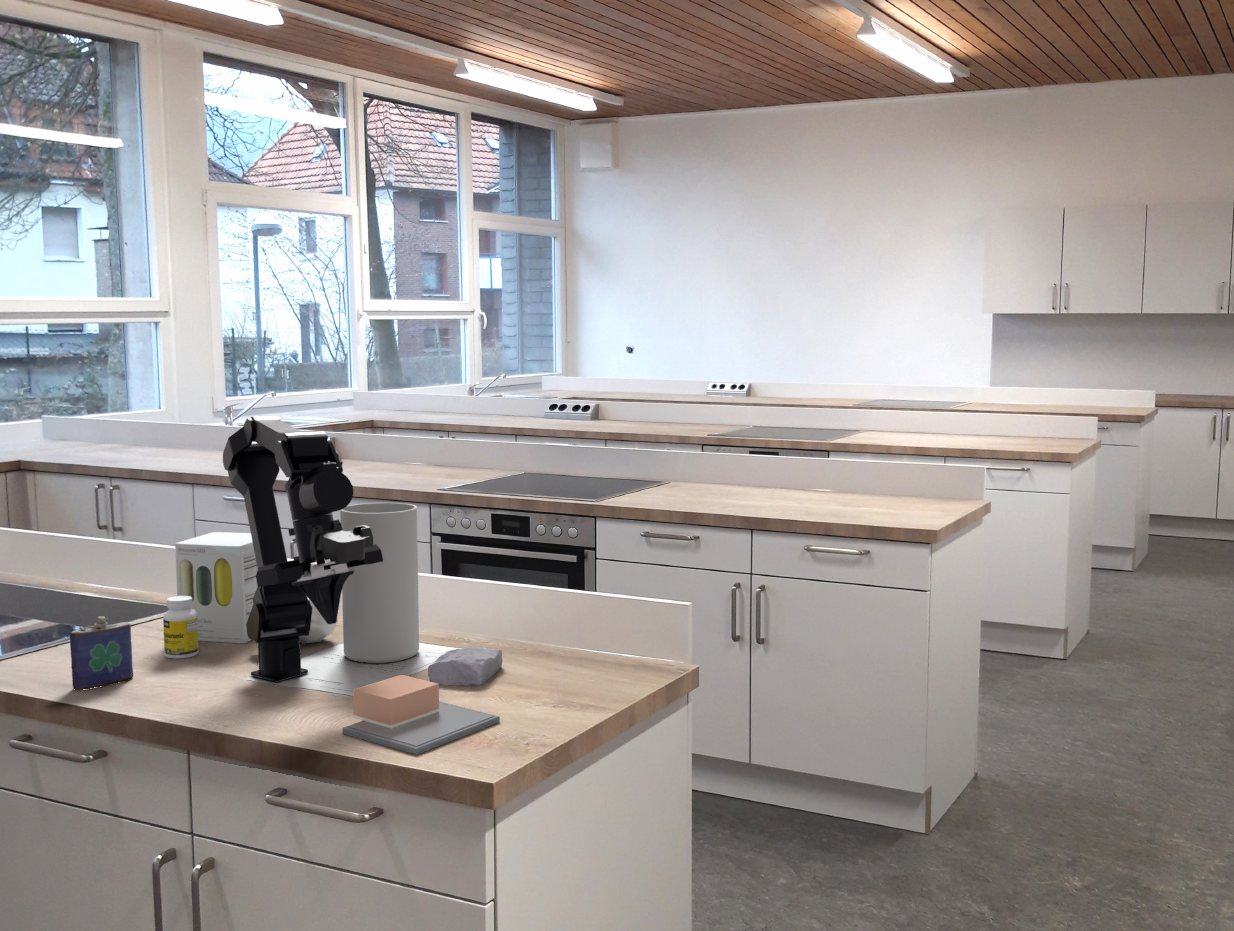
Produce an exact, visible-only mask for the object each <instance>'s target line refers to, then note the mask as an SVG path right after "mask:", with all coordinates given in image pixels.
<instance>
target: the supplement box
mask: <svg viewBox="0 0 1234 931" xmlns="http://www.w3.org/2000/svg"><path fill="white" fill-rule="evenodd" d="M174 548H175V549H174V550H175V568H176V569H175V573H176V574H175V575H176V594H177V595H176V596H190V597H192V606H191V609H194V610H195V611H196V612H197V619H198V642H210V643H211V642H213V643H214V642H215V643H228V644H229V643H230V644H246V643H248V642H250V641H252V640H251V639H250V638H248V635H247V627H246V623H247V620H248V618H249V615H250V612H251V609H252V607H253V597H254V594H255V592H256V590H257V587H258V586H257V580H256V574H257V571H258V568H257V563H256V557H255V552H254V547H253V542H252V537H251V532H249V533H248V532H224V531H223V532H222V531H213V532H209V533H205V534H202V535H198V536H195V537H192V538H189V539H185V540H182V541H179V542H175V544H174Z"/></svg>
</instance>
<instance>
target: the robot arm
mask: <svg viewBox="0 0 1234 931" xmlns="http://www.w3.org/2000/svg"><path fill="white" fill-rule="evenodd" d="M224 446H225V447H224V450H223V453H222V464H223V468H224V470H225V471H227V475H228V479H229V482H230V484H231V485H232V486H233V488H235V490H236V491H237V492H238V493H239V494H241V496H242V497H243V499H244V505H245V510H246V511H245V512H246V515H247V519H248V520H247V521H248V526H249V531H250V533H251V537H252V542H253V547H254V552H255V557H256V563H257V568H258V571H257V574H256V580H257V586H258V587H257V590H256V592H255V594H254V597H253V607H252V609H251V612H250V615H249V618H248V620H247V623H246V627H247V635H248V638H250V639H251V640H250V641H252V642H254V643H255V644H257V653H258V657H257V658H258V669H257V670H253V671H251V672H250V676H252V677H256V678H260V679H264V680H266V681H271V682H280V681H285V680H287V679H291V678H294V677H298V676H302V675H305V674H308V673H309V670H308V669H307V668H303V667H302V659H301V658H302V657H301V654H302V652H301V650H302V649H301V647H300V642H299V637H298V636H309V631H310V626H311V617H312V609H313V608H312V606H311V604H310V601H309V599H310V600H311V602H312V603H313V604H314V606H315V607H316V609H317V610H318V611H319V613H320V614H321V616H322V617H323V618H324V620H325V621H326V623H327V624H334V623H336V621H337V619H338V614H339V608H340V601H341V598H342V597H341V596H342V588H343V585H344V583H345V581H346V580H347V578H348V577H349V576H350V575H351V574H353V573H354V570H353V571H348V568H350V567H354V566H359V565H365V564H367V565H369V564H373V563H378V562H383V555H382V550H381V549H380V548H379V547H378V546H377V545H376V544H374V545H373V535H372V531H371V527H369V526H366V525H363V526H357V527H355V528H354V530H353V531H348V532H346V531H343V529H342V525H341V520H340V519H336V520H334V516H333V513H335V512H339V511H340V510H342V509H344V508H345V507H347V506H349V505H350V503H351V501H352V499H353V496H354V486H353V484H352V482H351V480H350V479H349V477H348V476H347V475H346V474H344V473H343V472H344V468H343V464H344V462H343V460H342V459H341V456H340V455H339V454H338V451H337V450H336V448H335V447H334V444H333V441H332V440H331V439H330V438H329V436H328V434H327V433H326V432H325V431H323V430H322V431H321V430H313V431H312V430H309V431H306V430H305V431H304V430H303V431H301V430H299V429H297V428H296V427H293V426H292V425H290V424H287V423H285V422H284V421H282V420H281V418H280V417H276V416H275V415H269V416H268V415H267V416H266V415H265V416H264V415H263V416H262V415H261V416H260V415H258V416H251V417H249V418H246V419H245V421H244V424H243V426H242V427H240V429H238V430H237V431H236V432H234V433H233V434H232V435H230V436H228V438H227V442H226V444H225V445H224ZM280 470H281V471H282V472H283V474H284V476H285V477H286V478H288V480H287V481H286V482H285V484H284V491H285V492H286V493H287V494H286V495H287V499H288V500H287V501H288V505H289V511H290V515H291V519H292V520H291V522H292V526H293V528H292V527H291V528H288V529H287V531H288V535H289V537H293V536H294V539H295V543H296V547H297V554H298V556H293V560H289V561H288V557H287V552H286V548H285V542H284V538H283V532H282V528H281V523H280V517H279V512H278V508H277V503H276V498H275V493H274V487H273V486H274V485H275V483H276V480H277V478H278V476H279V473H280ZM327 560H330V561H327ZM326 561H327V562H326ZM313 563H316V564H313ZM312 564H313V565H312ZM307 597H308V598H309V599H308V598H307ZM261 630H262V631H261Z"/></svg>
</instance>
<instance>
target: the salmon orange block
mask: <svg viewBox="0 0 1234 931" xmlns="http://www.w3.org/2000/svg"><path fill="white" fill-rule="evenodd" d="M439 686H440V684H438V683H434V682H431V681H429V680H425V679H420V678H417V677H416V678H415V677H413V676H408V675H404V674H399V675H395V676H393V677H389V678H386V679H383V680H381V681H376V682H374V683H370V684H367V685H364V686H360V687H356V688H354V689H352V704H353V719H357V720H360V721H367V722H370V723H374V724H377V725H381V726H384V727H388V728H394V727H397V726H399V725H402V724H405V723H408V722H411V721H414V720H416V719H419V718H422V717H425V716H428V715H431V714H433V713H436V712H439V702H440V694H439V693H440V689H439V688H440V687H439Z"/></svg>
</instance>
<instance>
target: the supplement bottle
mask: <svg viewBox="0 0 1234 931" xmlns="http://www.w3.org/2000/svg"><path fill="white" fill-rule="evenodd" d="M166 606H167V608H168V610H167V611H166V612H164V613H163V616H162V618H163V620H162V623H163V645H164V650H163V651H164V656H165V657H166V658H169V659H176V660H177V659H178V660H180V659H181V660H182V659H187V658H192V657H194V656H197V655H198V654H199V652H200V651H199V650H200V648H199V641H198V619H197V612H196V611H195V610H194V609H191V606H192V597H190V596H177V595H176V596H171V597H168V598H167V599H166Z"/></svg>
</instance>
